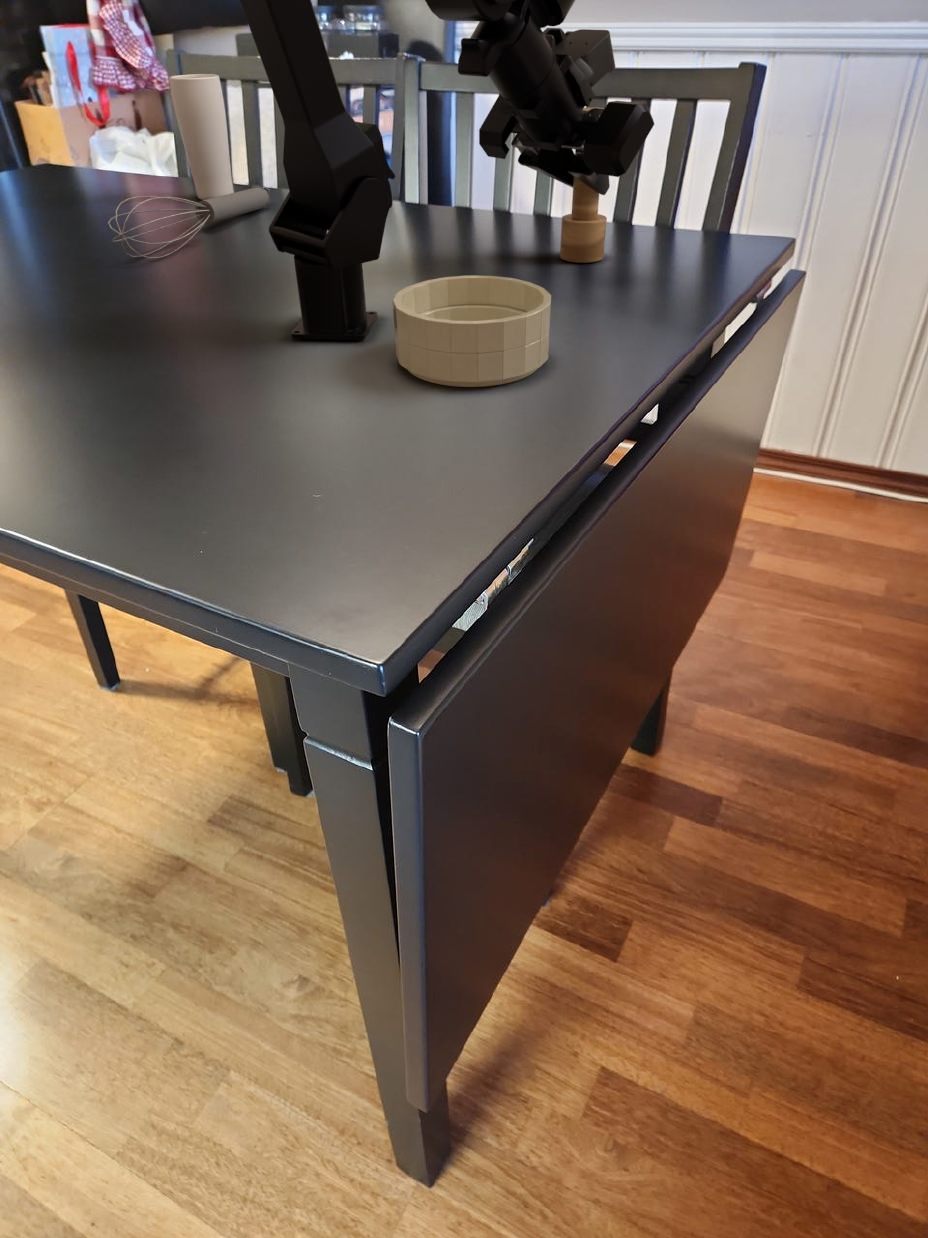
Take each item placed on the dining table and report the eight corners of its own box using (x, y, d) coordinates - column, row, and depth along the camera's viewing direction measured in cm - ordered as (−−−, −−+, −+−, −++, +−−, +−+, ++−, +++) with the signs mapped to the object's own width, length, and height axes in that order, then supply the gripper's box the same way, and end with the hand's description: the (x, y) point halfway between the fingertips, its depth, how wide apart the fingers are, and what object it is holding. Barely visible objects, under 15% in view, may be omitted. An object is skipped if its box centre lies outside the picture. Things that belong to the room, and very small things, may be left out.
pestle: (604, 262, 89) (616, 111, 80) (559, 262, 89) (567, 111, 81) (602, 251, 93) (615, 105, 84) (560, 250, 93) (567, 106, 85)
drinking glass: (183, 201, 119) (157, 77, 110) (207, 192, 124) (185, 73, 115) (224, 204, 117) (202, 78, 108) (248, 194, 122) (228, 73, 113)
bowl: (545, 392, 62) (548, 324, 58) (385, 388, 63) (379, 321, 60) (549, 336, 71) (552, 276, 68) (410, 334, 72) (407, 274, 69)
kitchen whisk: (289, 205, 116) (282, 154, 112) (153, 271, 90) (138, 208, 87) (250, 203, 117) (242, 153, 113) (105, 268, 92) (88, 206, 88)
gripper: (655, -9, 69) (709, 129, 82) (499, -7, 80) (568, 114, 93) (586, 110, 70) (650, 228, 82) (441, 95, 81) (517, 202, 94)
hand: (594, 188), depth 88 cm, fingers closed on pestle, 3 cm apart
